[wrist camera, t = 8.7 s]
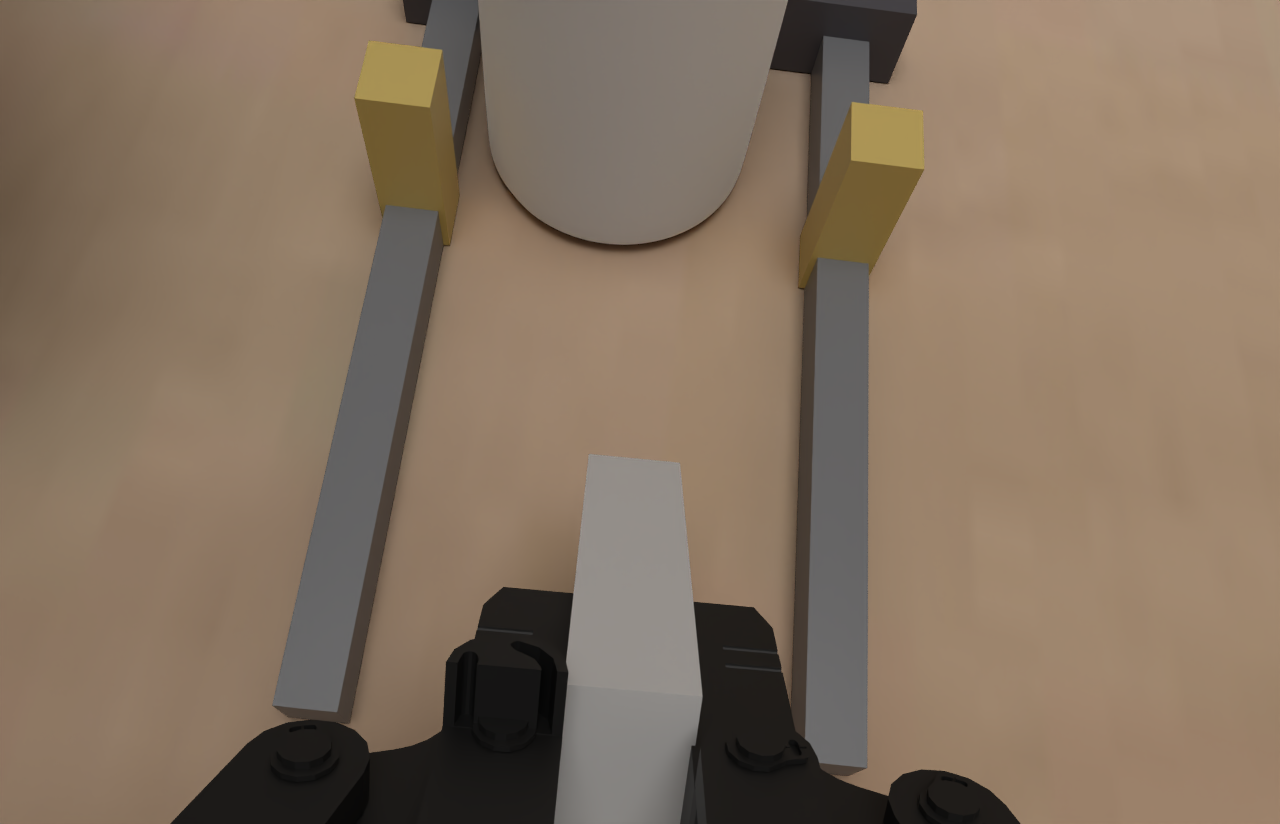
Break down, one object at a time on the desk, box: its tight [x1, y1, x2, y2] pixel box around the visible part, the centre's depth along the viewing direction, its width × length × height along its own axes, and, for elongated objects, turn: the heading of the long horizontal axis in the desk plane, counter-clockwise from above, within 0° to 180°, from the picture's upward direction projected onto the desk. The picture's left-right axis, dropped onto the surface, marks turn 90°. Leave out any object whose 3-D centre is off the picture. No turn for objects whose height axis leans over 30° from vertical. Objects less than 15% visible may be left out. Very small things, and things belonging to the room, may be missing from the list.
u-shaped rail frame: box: [272, 0, 924, 776], centre depth 23 cm, size 13×19×5 cm
